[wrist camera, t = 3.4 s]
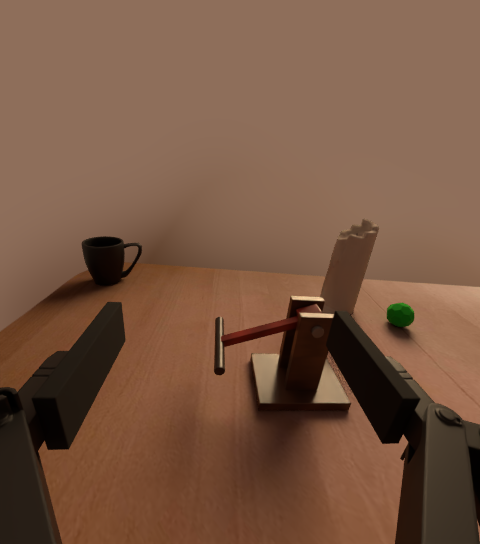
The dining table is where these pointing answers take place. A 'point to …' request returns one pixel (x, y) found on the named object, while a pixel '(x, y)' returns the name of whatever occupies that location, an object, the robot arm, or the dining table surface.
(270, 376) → the rod stand
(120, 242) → the mug
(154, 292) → the dining table surface
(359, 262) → the candle
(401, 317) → the polyhedron
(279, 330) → the red lever
